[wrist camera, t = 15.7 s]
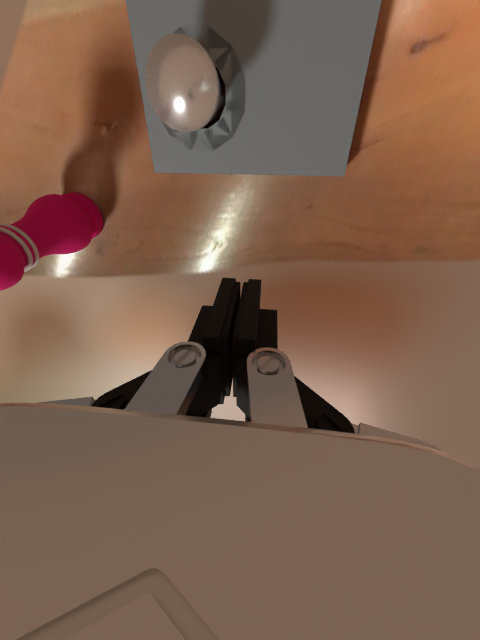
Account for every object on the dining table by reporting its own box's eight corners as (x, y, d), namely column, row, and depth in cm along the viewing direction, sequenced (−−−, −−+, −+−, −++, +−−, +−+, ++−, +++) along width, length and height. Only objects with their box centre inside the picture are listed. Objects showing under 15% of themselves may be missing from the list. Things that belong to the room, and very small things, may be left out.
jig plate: (376, -8, 23) (386, -21, 21) (340, 172, 31) (344, 176, 29) (136, 1, 25) (124, -10, 23) (161, 169, 33) (154, 172, 31)
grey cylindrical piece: (231, 57, 27) (215, 32, 19) (232, 130, 30) (219, 132, 23) (174, 58, 27) (137, 34, 20) (181, 130, 31) (152, 131, 23)
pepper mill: (61, 176, 35) (-117, 219, 19) (113, 208, 37) (-11, 272, 21) (53, 221, 39) (-101, 288, 23) (100, 249, 41) (-13, 328, 25)
